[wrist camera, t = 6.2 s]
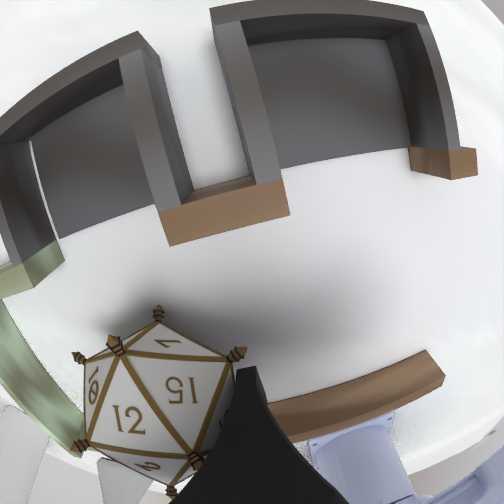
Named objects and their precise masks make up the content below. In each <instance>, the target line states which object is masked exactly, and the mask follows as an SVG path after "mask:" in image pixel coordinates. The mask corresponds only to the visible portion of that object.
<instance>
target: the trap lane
mask: <svg viewBox="0 0 504 504" xmlns="http://www.w3.org/2000/svg"><path fill="white" fill-rule="evenodd" d="M209 9H210V16H211V22H212V29H213V35H214V41H215V44H216V48H217V51H218V55H219V59H220V62H221V66H222V69H223V73H224V77H225V80H226V84H227V88H228V92H229V95H230V99H231V103H232V106H233V110H234V114H235V118H236V122H237V125H238V129H239V133H240V137H241V141H242V145H243V149H244V153H245V156H246V160H247V164H248V168H249V172H250V176H246V177H242V178H238V179H234V180H230V181H226V182H223V183H219V184H215V185H212V186H208V187H205V188H201V189H198V190H194V189H193V185H192V182H191V178H190V175H189V171H188V168H187V164H186V161H185V157H184V153H183V150H182V146H181V142H180V139H179V135H178V131H177V127H176V124H175V120H174V116H173V112H172V108H171V104H170V100H169V96H168V92H167V88H166V84H165V80H164V75H163V71H162V67H161V62H160V58H159V55H158V54H157V53H156V52H155V51H154V49H153V48H152V47H151V46H150V45H149V43H148V42H147V41H146V40H145V39H144V38H143V36H142V35H141V34H140V33H139V32H138V31H136V32H133V33H131V34H129V35H126V36H124V37H122V38H119V39H117V40H115V41H113V42H111V43H109V44H107V45H105V46H103V47H101V48H99V49H97V50H95V51H93V52H91V53H89V54H88V55H86V56H84V57H82V58H80V59H79V60H77V61H75V62H74V63H72V64H70V65H69V66H67V67H65V68H64V69H62V70H61V71H59V72H58V73H56V74H55V75H53V76H52V77H50V78H49V79H47V80H46V81H44V82H43V83H42V84H40V85H39V86H38V87H36V88H35V89H34V90H32V91H31V92H30V93H28V94H27V95H26V96H25V97H23V98H22V99H21V100H20V101H18V102H17V103H16V104H15V105H14V106H12V107H11V108H10V109H9V110H8V111H7V112H6V113H5V114H3V115H2V116H1V117H0V234H1V237H2V239H3V242H4V245H5V248H6V250H7V253H8V255H9V258H10V260H11V261H9V262H7V263H5V264H3V265H1V266H0V384H1V385H2V386H3V387H4V389H5V390H6V391H7V392H8V393H9V395H10V396H11V397H12V398H13V399H14V400H15V402H16V403H17V404H18V405H19V406H20V407H21V408H22V409H23V410H24V412H25V413H26V414H27V415H28V416H29V417H30V418H31V419H32V420H33V421H34V422H35V423H36V424H37V425H38V426H39V427H40V428H41V429H42V430H43V431H45V432H46V433H47V434H48V435H49V436H50V437H51V438H52V439H53V440H54V441H56V442H57V443H58V444H59V445H60V446H61V447H63V448H64V449H65V450H66V451H67V452H69V453H70V454H71V455H72V456H74V457H78V458H82V455H83V452H84V451H83V452H82V454H81V453H80V452H74V451H69V450H70V448H71V446H72V444H73V441H78V439H80V440H84V439H85V426H84V415H83V414H82V412H81V411H80V410H79V409H78V408H77V407H76V406H75V405H74V404H73V403H72V402H71V401H70V399H69V398H68V397H67V396H66V395H65V394H64V392H63V391H62V390H61V389H60V388H59V387H58V385H57V384H56V383H55V382H54V380H53V379H52V378H51V377H50V375H49V374H48V373H47V371H46V370H45V369H44V367H43V366H42V365H41V363H40V362H39V361H38V359H37V358H36V356H35V355H34V353H33V352H32V350H31V349H30V347H29V346H28V344H27V343H26V341H25V340H24V338H23V337H22V335H21V333H20V332H19V330H18V329H17V327H16V325H15V323H14V322H13V320H12V318H11V316H10V315H9V313H8V311H7V309H6V307H5V305H4V304H3V302H2V300H1V299H2V298H5V297H8V296H11V295H14V294H17V293H20V292H23V291H26V290H29V289H32V288H34V287H35V286H36V285H38V284H39V283H40V282H41V281H42V280H43V279H44V278H45V277H47V276H48V275H49V274H50V273H51V272H52V271H53V270H55V269H56V268H57V267H58V266H59V265H60V264H62V263H63V262H64V261H65V260H64V258H63V256H62V253H61V251H60V248H59V246H58V243H57V241H56V238H55V236H54V233H53V230H52V228H51V225H50V222H49V219H48V216H47V213H46V210H45V207H44V204H43V201H42V197H41V194H40V190H39V187H38V183H37V179H36V176H35V172H34V167H33V163H32V159H31V154H30V149H29V144H28V141H29V140H31V142H32V147H33V152H34V157H35V161H36V166H37V170H38V174H39V178H40V181H41V185H42V189H43V192H44V196H45V199H46V202H47V205H48V208H49V212H50V215H51V217H52V220H53V223H54V226H55V229H56V232H57V234H58V237H59V239H61V238H63V237H66V236H68V235H71V234H73V233H75V232H78V231H80V230H83V229H85V228H88V227H91V226H93V225H96V224H98V223H101V222H104V221H106V220H109V219H112V218H114V217H117V216H120V215H123V214H126V213H128V212H131V211H134V210H137V209H140V208H143V207H146V206H149V205H152V204H155V205H156V208H157V211H158V214H159V217H160V220H161V223H162V226H163V229H164V232H165V235H166V238H167V240H168V243H169V246H170V247H171V246H174V245H178V244H182V243H185V242H189V241H193V240H196V239H200V238H204V237H207V236H211V235H215V234H219V233H222V232H226V231H230V230H234V229H238V228H242V227H246V226H249V225H253V224H257V223H261V222H265V221H269V220H273V219H277V218H281V217H285V216H289V215H290V212H289V207H288V202H287V198H286V193H285V188H284V184H283V179H282V175H281V171H280V169H283V168H288V167H292V166H297V165H302V164H307V163H312V162H317V161H322V160H327V159H333V158H338V157H344V156H350V155H356V154H363V153H369V152H376V151H383V150H390V149H398V148H407V147H408V149H409V157H410V164H411V171H416V172H420V173H425V174H429V175H433V176H437V177H441V178H445V179H449V180H455V179H460V178H465V177H471V176H476V175H478V169H477V155H476V149H475V148H468V147H460V142H459V134H458V127H457V121H456V116H455V110H454V105H453V100H452V96H451V92H450V87H449V83H448V79H447V76H446V72H445V69H444V65H443V62H442V59H441V56H440V53H439V50H438V47H437V44H436V41H435V38H434V36H433V33H432V30H431V28H430V25H429V23H428V21H427V18H426V16H425V14H424V11H421V10H417V9H413V8H408V7H404V6H399V5H394V4H389V3H383V2H376V1H369V0H253V1H246V2H239V3H233V4H228V5H222V6H217V7H213V8H209ZM445 376H446V375H445V374H444V373H443V371H442V370H441V369H440V367H439V366H438V365H437V364H436V362H435V361H434V360H433V358H432V357H431V356H430V355H429V353H428V352H427V351H426V350H425V351H422V352H420V353H418V354H416V355H414V356H412V357H410V358H407V359H405V360H403V361H401V362H398V363H396V364H394V365H391V366H389V367H386V368H384V369H382V370H379V371H376V372H374V373H371V374H369V375H366V376H363V377H360V378H358V379H355V380H352V381H349V382H346V383H343V384H340V385H337V386H334V387H331V388H327V389H324V390H321V391H317V392H314V393H310V394H306V395H303V396H299V397H295V398H291V399H287V400H283V401H278V402H274V403H269V404H268V408H269V410H270V411H271V413H272V415H273V417H274V418H275V420H276V421H277V423H278V425H279V426H280V428H281V429H282V431H283V432H284V433H285V435H286V436H287V438H288V439H289V440H290V442H291V443H297V442H301V441H305V440H309V439H313V438H316V437H320V436H323V435H327V434H330V433H334V432H337V431H340V430H343V429H346V428H349V427H352V426H355V425H358V424H360V423H363V422H366V421H368V420H371V419H374V418H376V417H379V416H381V415H383V414H386V413H388V412H390V411H393V410H395V409H397V408H399V407H402V406H404V405H406V404H408V403H410V402H412V401H414V400H416V399H418V398H420V397H422V396H424V395H426V394H428V393H430V392H432V391H433V390H435V389H437V388H439V387H441V386H442V384H443V382H444V379H445ZM86 450H91V451H97V450H95V449H94V448H92V447H88V448H87V449H86ZM97 452H99V451H97Z"/></svg>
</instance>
